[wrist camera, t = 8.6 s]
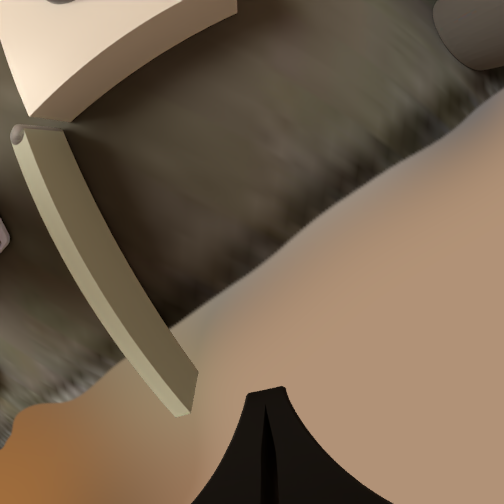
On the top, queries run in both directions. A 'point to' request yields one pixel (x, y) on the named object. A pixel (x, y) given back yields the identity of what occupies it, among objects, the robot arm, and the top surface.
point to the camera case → (92, 45)
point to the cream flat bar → (102, 265)
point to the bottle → (472, 31)
